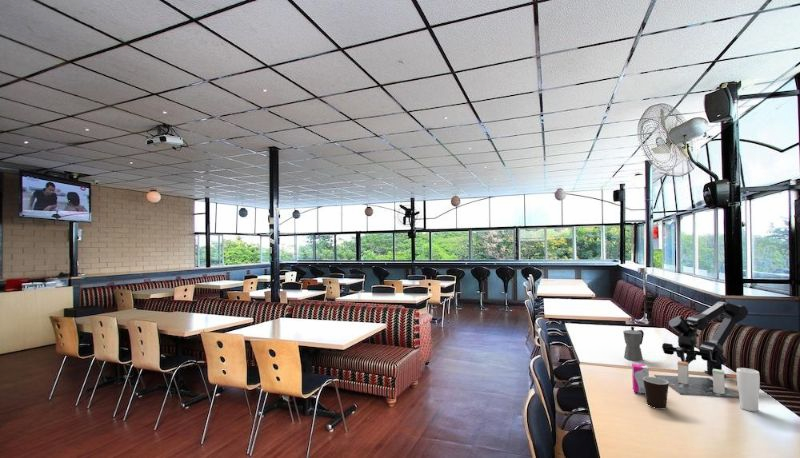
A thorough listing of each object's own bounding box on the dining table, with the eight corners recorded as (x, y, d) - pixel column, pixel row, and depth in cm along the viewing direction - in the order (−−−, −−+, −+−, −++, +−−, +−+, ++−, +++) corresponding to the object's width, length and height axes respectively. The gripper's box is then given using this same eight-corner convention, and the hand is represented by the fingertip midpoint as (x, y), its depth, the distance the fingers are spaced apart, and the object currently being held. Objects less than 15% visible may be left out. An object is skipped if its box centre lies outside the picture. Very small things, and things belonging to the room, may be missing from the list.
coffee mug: (661, 412, 149) (660, 385, 149) (639, 403, 157) (638, 378, 157) (678, 406, 154) (677, 380, 155) (655, 398, 162) (655, 374, 162)
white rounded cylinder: (765, 413, 147) (763, 373, 148) (745, 412, 149) (743, 372, 149) (753, 406, 154) (751, 368, 155) (733, 405, 155) (732, 367, 156)
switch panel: (654, 375, 190) (654, 374, 190) (708, 378, 186) (708, 377, 186) (680, 394, 166) (680, 393, 166) (743, 398, 162) (743, 397, 162)
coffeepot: (633, 362, 212) (632, 329, 213) (617, 358, 220) (616, 326, 221) (652, 359, 218) (651, 327, 219) (636, 355, 226) (635, 324, 227)
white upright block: (714, 390, 169) (713, 368, 170) (725, 392, 167) (724, 370, 167) (713, 392, 167) (712, 370, 168) (724, 394, 164) (723, 372, 165)
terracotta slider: (679, 380, 181) (678, 360, 181) (689, 382, 178) (688, 362, 179) (678, 382, 179) (677, 362, 179) (687, 384, 176) (687, 364, 177)
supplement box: (647, 390, 171) (646, 364, 171) (649, 395, 165) (649, 368, 166) (632, 388, 173) (631, 362, 174) (634, 393, 168) (633, 366, 168)
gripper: (662, 326, 192) (657, 353, 184) (710, 332, 179) (707, 361, 171) (666, 339, 197) (661, 366, 189) (713, 346, 184) (710, 375, 176)
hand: (684, 367), depth 181 cm, fingers closed
